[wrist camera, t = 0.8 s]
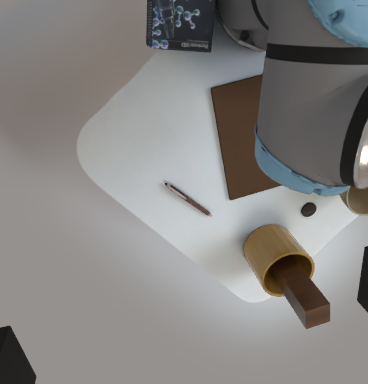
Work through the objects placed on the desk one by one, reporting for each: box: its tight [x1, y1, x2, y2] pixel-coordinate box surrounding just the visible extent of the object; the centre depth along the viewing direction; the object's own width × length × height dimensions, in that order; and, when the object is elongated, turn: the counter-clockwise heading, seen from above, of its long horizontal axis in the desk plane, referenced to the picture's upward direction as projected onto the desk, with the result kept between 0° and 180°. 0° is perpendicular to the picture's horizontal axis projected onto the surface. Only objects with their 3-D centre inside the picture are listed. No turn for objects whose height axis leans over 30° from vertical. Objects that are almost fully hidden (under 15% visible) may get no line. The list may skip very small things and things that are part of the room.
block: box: [268, 255, 330, 329], centre depth 58 cm, size 4×4×18 cm
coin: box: [302, 203, 316, 217], centre depth 64 cm, size 3×1×3 cm
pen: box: [165, 183, 212, 216], centre depth 57 cm, size 11×1×1 cm, turn 48°
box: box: [146, 0, 216, 53], centre depth 42 cm, size 8×6×11 cm
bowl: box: [339, 186, 368, 215], centre depth 59 cm, size 10×10×7 cm
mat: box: [211, 74, 281, 200], centre depth 55 cm, size 20×16×1 cm
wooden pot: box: [243, 224, 314, 297], centre depth 62 cm, size 10×10×9 cm
